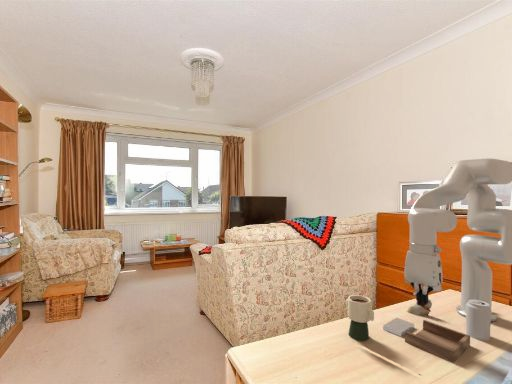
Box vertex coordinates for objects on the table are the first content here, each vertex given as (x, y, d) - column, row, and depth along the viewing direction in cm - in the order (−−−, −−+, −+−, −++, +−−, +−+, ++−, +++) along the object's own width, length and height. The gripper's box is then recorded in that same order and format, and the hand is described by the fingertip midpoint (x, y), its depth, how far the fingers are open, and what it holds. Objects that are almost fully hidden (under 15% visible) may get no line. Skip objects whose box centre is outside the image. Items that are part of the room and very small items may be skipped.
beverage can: (494, 344, 89) (495, 307, 89) (471, 342, 90) (472, 305, 90) (482, 334, 95) (483, 299, 95) (461, 332, 97) (462, 297, 97)
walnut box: (424, 331, 97) (424, 319, 97) (469, 348, 86) (470, 335, 86) (404, 344, 88) (405, 332, 88) (453, 365, 78) (453, 351, 78)
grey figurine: (427, 321, 104) (428, 294, 104) (405, 314, 110) (405, 288, 110) (432, 317, 108) (433, 291, 108) (410, 310, 114) (410, 285, 114)
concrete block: (396, 323, 102) (396, 317, 102) (414, 329, 97) (414, 324, 97) (382, 331, 95) (383, 325, 95) (401, 338, 91) (401, 332, 91)
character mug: (380, 344, 88) (381, 303, 88) (364, 350, 84) (365, 307, 84) (353, 329, 97) (354, 291, 97) (338, 333, 94) (339, 294, 94)
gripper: (453, 251, 87) (453, 309, 88) (404, 243, 99) (403, 294, 100) (444, 255, 83) (444, 316, 83) (393, 246, 95) (393, 300, 95)
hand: (422, 304), depth 91 cm, fingers closed
